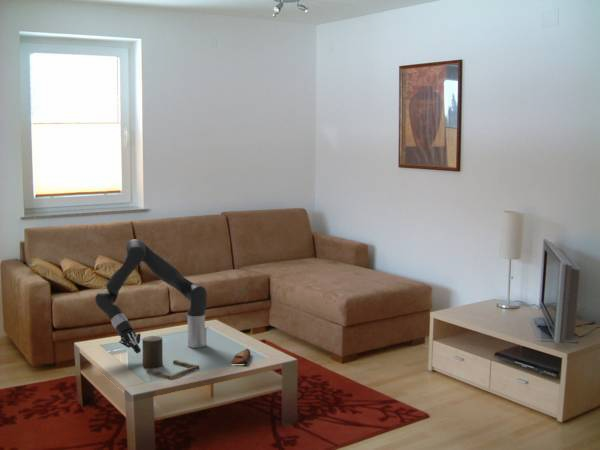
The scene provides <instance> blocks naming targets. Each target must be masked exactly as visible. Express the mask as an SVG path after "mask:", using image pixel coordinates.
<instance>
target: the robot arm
mask: <svg viewBox="0 0 600 450" xmlns="http://www.w3.org/2000/svg"><path fill="white" fill-rule="evenodd" d="M125 249H126V255H127V256H126V257H125V261H124V262H123V263H122V265H121V266H120V267H119V268H118V269H117V270H116V271H114V273H113V274H112V276H111V277H110V279H109V280H108V282H107V283H106V289H107V291H103V292H99V293H97V294H96V295H95V299H94V300H95V303H96V305H97V306H98V307H99V309H100V310H101V311H102V312H104V313H105V314H106V315H107V317H108V319H109V321H110V322H111V325H112V326H113V328H114V330H115V331H116V333H117V335H118V336H119V337H120V340H119V341H118V343H120V344H121V345H123V346H124V347H126V348H131V349H133V351H134V353H136V354H140V353H141V352H142V351H141V347H140V345H139V344H140V343H141V333H136V332H135V330H133V326H132V324H131V323H130V321H129V319H128V318H127V317H126V315H125V314H124V313H123V311H122V310H121V308H120V306H119V305H116V304H114V303H116V301H117V299H118V296H119V292H120V290H121V289H122V287H123V286H124V284H125V282H126V281H127V279H128V278H129V276H131V274H132V273H133V271H134V270H135V269H136V268H137V267H138V266H139V264H141V263H142V262H143V263H144V264H146V265H145V266H146V267H148V268H149V269H150V271H151V272H152V273H153V274H154V276H156V277H157V278H158V279H160V280H161V281H162V282H163V283H166V284H167V285H168V286H170V287H173V288H174V289H176V290H177V291H178V292H180V293H181V294H182V295H183V296H184V297H185V298H186V299H187V300H188V301H190V308H188V309H187V347H189V348H193V349H199V348H200V349H201V348H203V347H205V346H207V343H208V342H207V340H208V339H207V336H208V335H207V333H208V332H207V331H208V330H207V328H206V317H205V316H206V315H205V314H206V309H207V303H208V302H207V299H208V298H207V297H208V295H207V290H206V288H205V287H203V286H202V285H200V284H196V283H193V282H192V281H190V280H188V279H187V278H186V277H185V276H183V275H182V273H181V272H180V271H179V269H178V268H176V267H175V266H174V265H172V264H171V263H169V262H168V261H167V260H165V259H164V258H162V257H161V256H160V255H158V254H157V253H155V252H154V251H153V250H152V249H151V248H150V247H148V245H146V244H145V243H144V242H143V241H142V240H140V239H135V238H134V239H130V240H128V241H127V244H126V247H125Z"/></svg>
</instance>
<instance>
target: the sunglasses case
mask: <svg viewBox="0 0 600 450" xmlns="http://www.w3.org/2000/svg"><path fill="white" fill-rule="evenodd" d="M250 356H251V351H250V349H249V348H246V349H244V350H243V349H242V350H241V351H240V352H238V353H235V354H234V356H233V359H232V361H231V362H230V364H247V365H248V362H249V359H250Z"/></svg>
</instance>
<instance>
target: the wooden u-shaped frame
mask: <svg viewBox="0 0 600 450" xmlns="http://www.w3.org/2000/svg"><path fill="white" fill-rule="evenodd" d="M172 362H173V365H174V364H175V365H178V366H180V367H181V366H182V367H185V369H183V370H180V371H178V372H175V373H172V374H169V373H166V372H162V371H158V370H154V369H152V368H147V369H146V374H150V375H154V376H157V377H162V378H165V379H168V380H173V379H172V378H174V379H176V378H178V376H179V377H181V376H180V375H182V376H184V375H186V373H187V374H190V373H191V371H192V372H194V370H195V371H197V370H199V369H200V365H197V364H194V363H190V362H186V361H183V360H182V361H181V360H178V359H174V360H173V361H172ZM186 367H187V368H186ZM196 369H197V370H196ZM183 374H184V375H183ZM175 377H176V378H175Z"/></svg>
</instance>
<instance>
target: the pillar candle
mask: <svg viewBox="0 0 600 450" xmlns="http://www.w3.org/2000/svg"><path fill="white" fill-rule="evenodd" d="M163 352H164V351H163V337H162V336H159V335H150V336H144V337H143V338H142V367H144V368H146V369H159V368H161V367H162V366H163V364H164V362H163V358H164V357H163Z"/></svg>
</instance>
